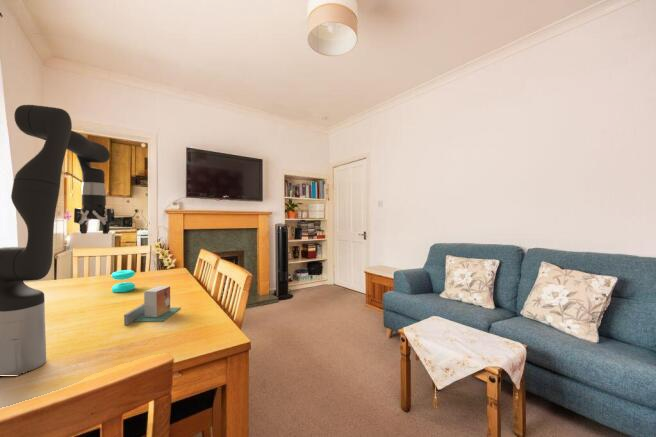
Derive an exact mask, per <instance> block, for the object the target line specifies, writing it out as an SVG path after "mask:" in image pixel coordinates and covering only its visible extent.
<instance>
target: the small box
mask: <svg viewBox="0 0 656 437" xmlns="http://www.w3.org/2000/svg"><path fill="white" fill-rule="evenodd" d="M143 292H144V294H143V298H144V300H143V302H144V303H143V304H144V315H145V317H156V318H157V317H159V316H160V315H162V314H164V313H167V312H169V311H170V308H171V286H170V285H169V286H167V285H158V286H155V287H153V288H150V289H148V290H145V291H143Z"/></svg>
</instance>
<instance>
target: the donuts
mask: <svg viewBox="0 0 656 437" xmlns="http://www.w3.org/2000/svg"><path fill="white" fill-rule="evenodd" d="M135 274H136V272H135V271H134V270H132V269H124V270H116V271H114V272H112V273H111V278H112V279H113V280H116V281H117V280H119V281H120V280H127V279H131V278H133V277H134V276H135ZM135 288H136V284H135V283H133V282H129V281H127V282H119V283H115V284H114V285H113V286H112V287H111V291H112V293H117V294H118V293H127V292H130V291H133V290H134V289H135Z"/></svg>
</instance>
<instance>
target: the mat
mask: <svg viewBox="0 0 656 437" xmlns="http://www.w3.org/2000/svg"><path fill="white" fill-rule="evenodd" d="M180 309H181V307H170V311H169V312H167V313H164V314H162V315H160V316H159V317H157V318H156V317H145V315H142V316H141V317H139V318H138V319H136V320H135V321H134V322H133V323H151V322H152V323H153V322H154V323H155V322H157V323H158V322H161V323H163V322H165V321H166V320H168V319H169V318H170V317H172V316H173V315H174V314H175V313H176V312H177V311H179V310H180Z"/></svg>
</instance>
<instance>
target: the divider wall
mask: <svg viewBox="0 0 656 437" xmlns="http://www.w3.org/2000/svg"><path fill="white" fill-rule="evenodd" d="M142 315H144V303H143V304H141V305H139V306H137V307H134V309H132V310H130V311H128V312H126V313H124V314H123V321H124V322H123V325H124V326H128V325H129V326H130V325H131V324H132V323H135V322H134V321H135V320H136V319H138V318H139V317H141V316H142Z"/></svg>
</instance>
